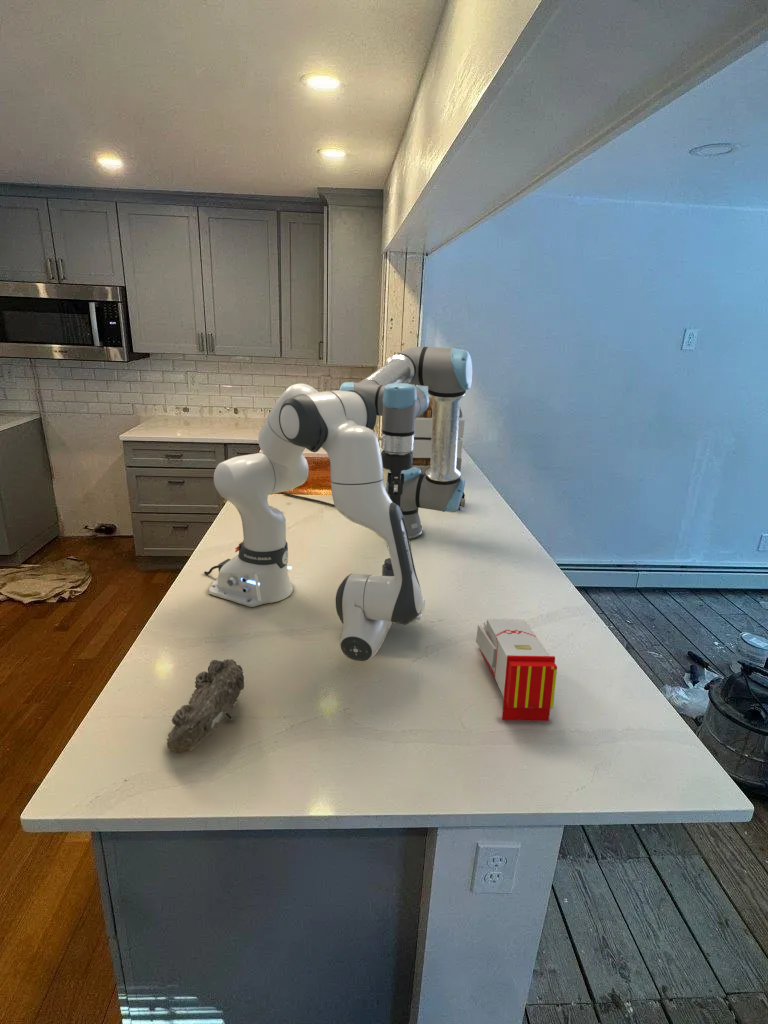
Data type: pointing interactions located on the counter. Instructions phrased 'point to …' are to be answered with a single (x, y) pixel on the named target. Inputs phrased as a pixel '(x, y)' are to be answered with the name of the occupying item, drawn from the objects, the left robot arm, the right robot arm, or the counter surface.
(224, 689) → the fossil
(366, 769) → the counter surface
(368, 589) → the left robot arm
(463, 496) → the figurine character
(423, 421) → the grey slatted wooden crate
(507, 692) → the toy
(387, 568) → the jar
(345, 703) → the counter surface
